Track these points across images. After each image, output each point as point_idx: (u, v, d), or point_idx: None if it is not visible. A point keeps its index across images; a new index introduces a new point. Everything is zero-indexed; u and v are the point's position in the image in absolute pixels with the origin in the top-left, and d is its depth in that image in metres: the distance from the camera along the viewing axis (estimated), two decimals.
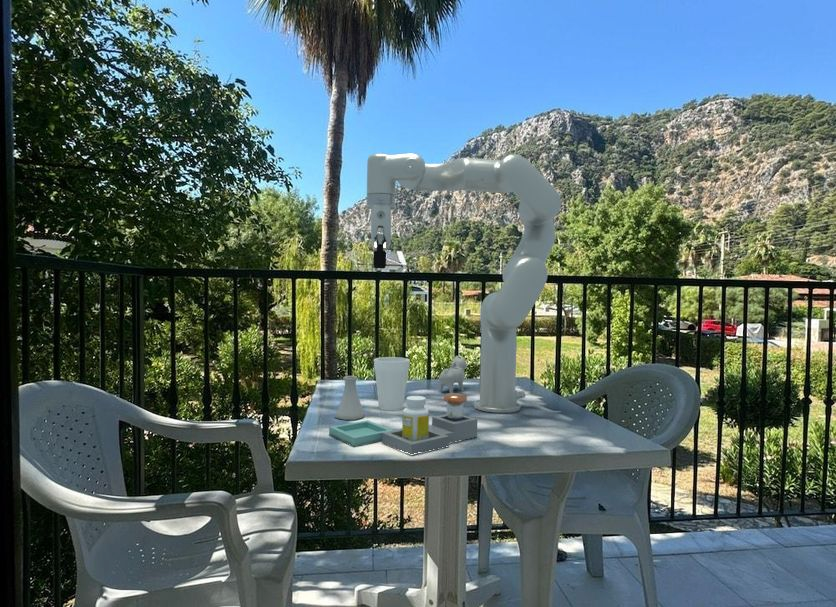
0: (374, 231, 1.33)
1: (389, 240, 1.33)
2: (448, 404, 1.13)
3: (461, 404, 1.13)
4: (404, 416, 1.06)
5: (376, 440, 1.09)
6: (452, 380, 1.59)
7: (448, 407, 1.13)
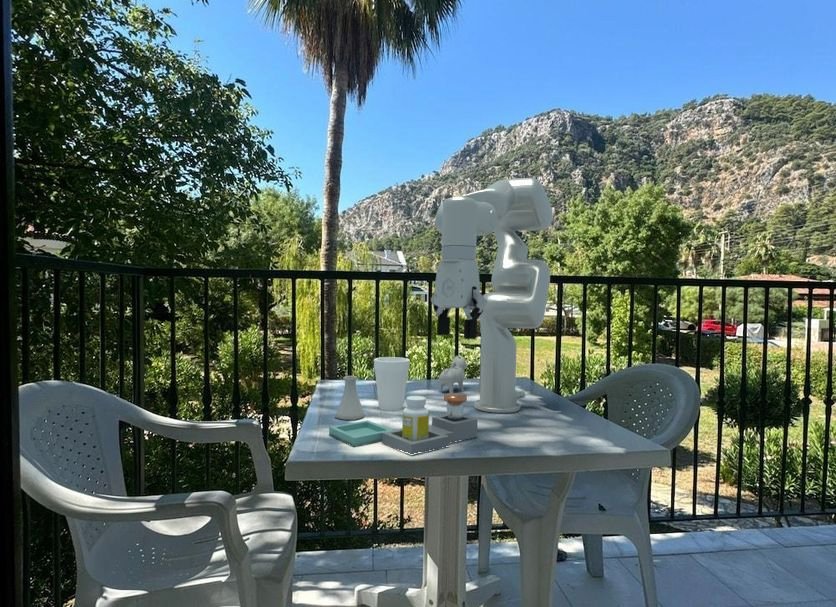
0: None
1: None
2: (448, 404, 1.13)
3: (461, 404, 1.13)
4: (404, 416, 1.06)
5: (376, 440, 1.09)
6: (452, 380, 1.59)
7: (448, 407, 1.13)
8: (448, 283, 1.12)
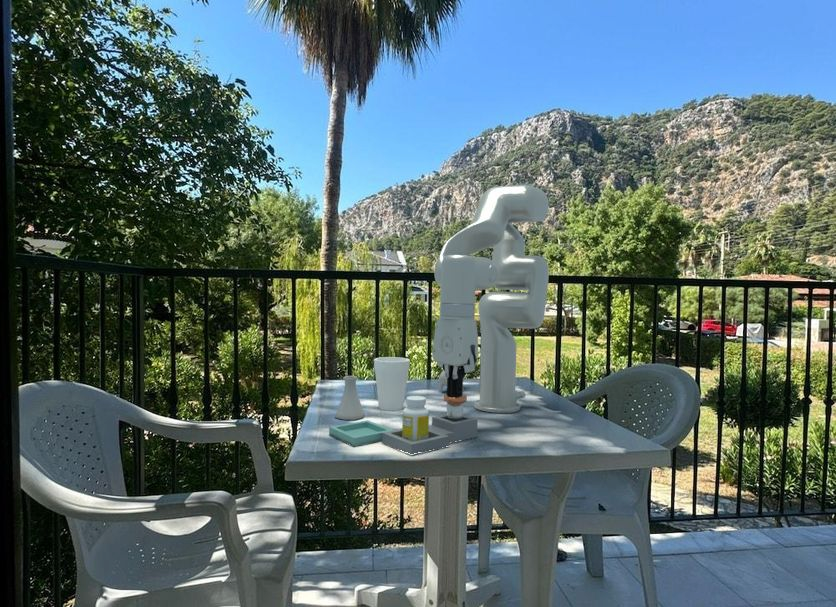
0: None
1: None
2: (448, 404, 1.13)
3: (461, 404, 1.13)
4: (404, 416, 1.06)
5: (376, 440, 1.09)
6: None
7: (448, 408, 1.13)
8: (446, 340, 1.12)
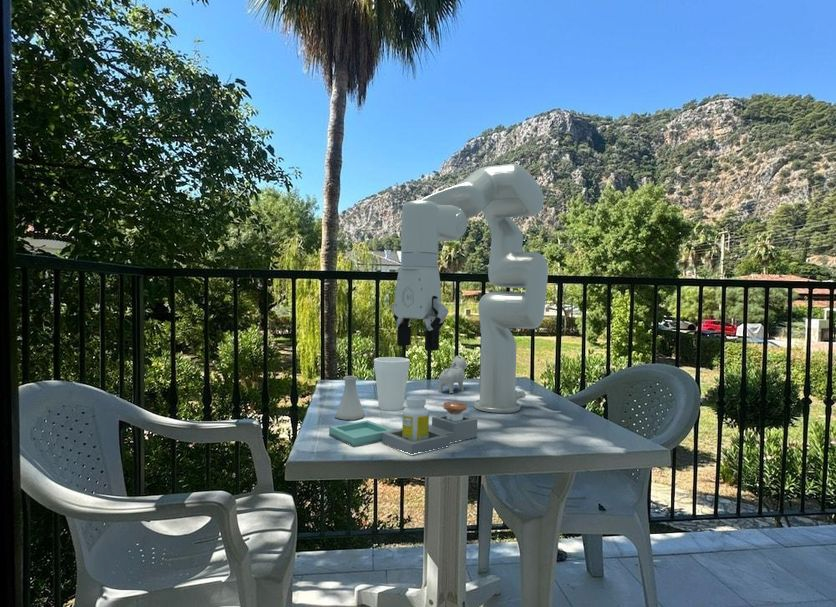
0: None
1: None
2: (448, 412, 1.13)
3: (461, 412, 1.13)
4: (404, 416, 1.06)
5: (376, 440, 1.09)
6: (452, 380, 1.59)
7: (448, 416, 1.13)
8: (407, 293, 1.05)
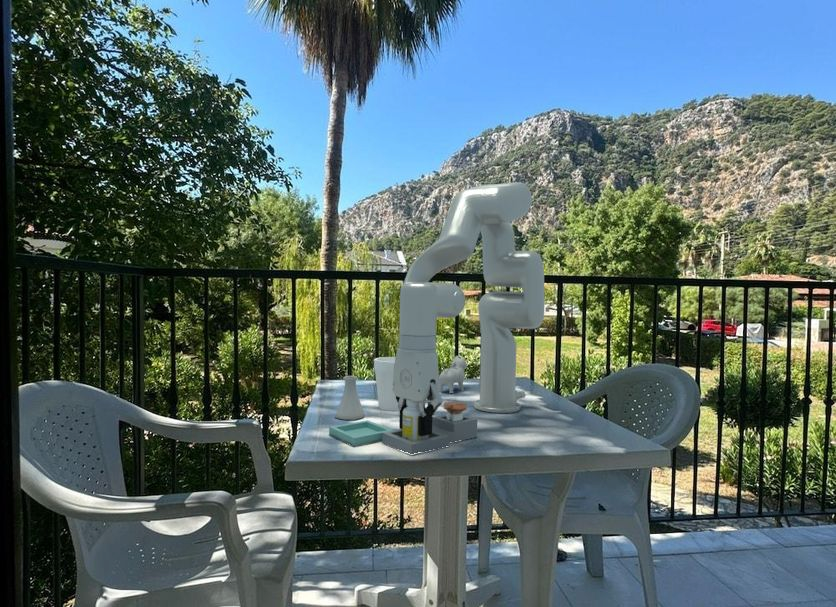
0: None
1: None
2: (448, 412, 1.13)
3: (461, 412, 1.13)
4: (404, 416, 1.06)
5: (376, 440, 1.09)
6: (452, 380, 1.59)
7: (448, 416, 1.13)
8: (405, 374, 1.05)
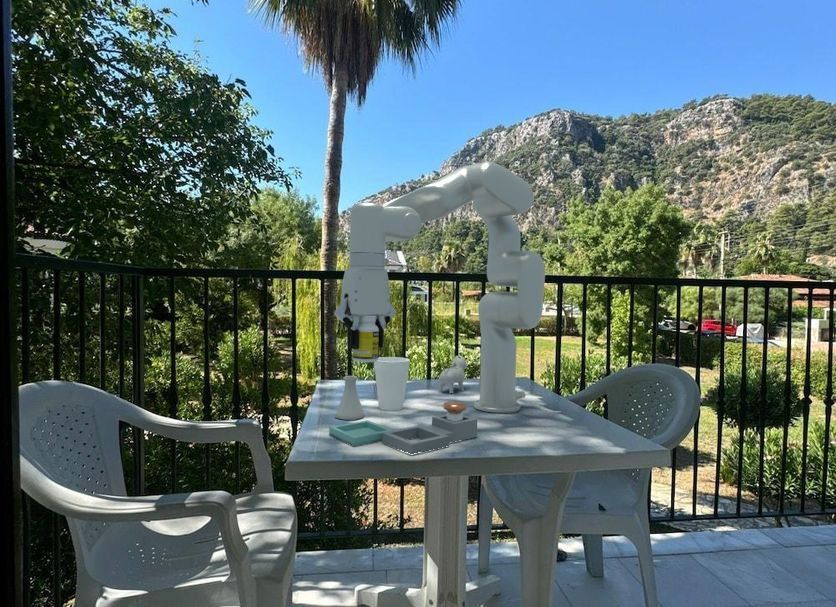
0: None
1: None
2: (448, 412, 1.13)
3: (461, 412, 1.13)
4: None
5: (376, 440, 1.09)
6: (452, 380, 1.59)
7: (448, 416, 1.13)
8: None
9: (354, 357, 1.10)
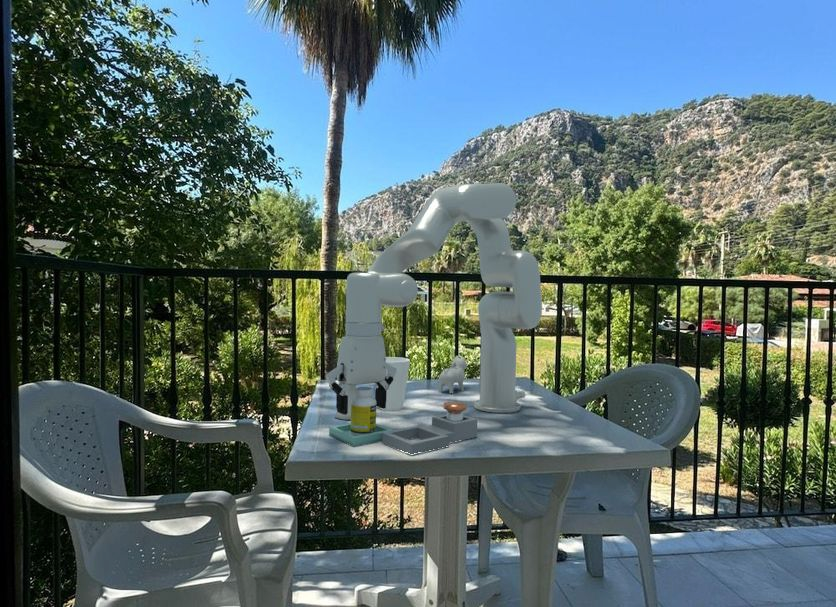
0: None
1: None
2: (448, 412, 1.13)
3: (461, 412, 1.13)
4: None
5: (376, 440, 1.09)
6: (452, 380, 1.59)
7: (448, 416, 1.13)
8: None
9: (352, 431, 1.11)
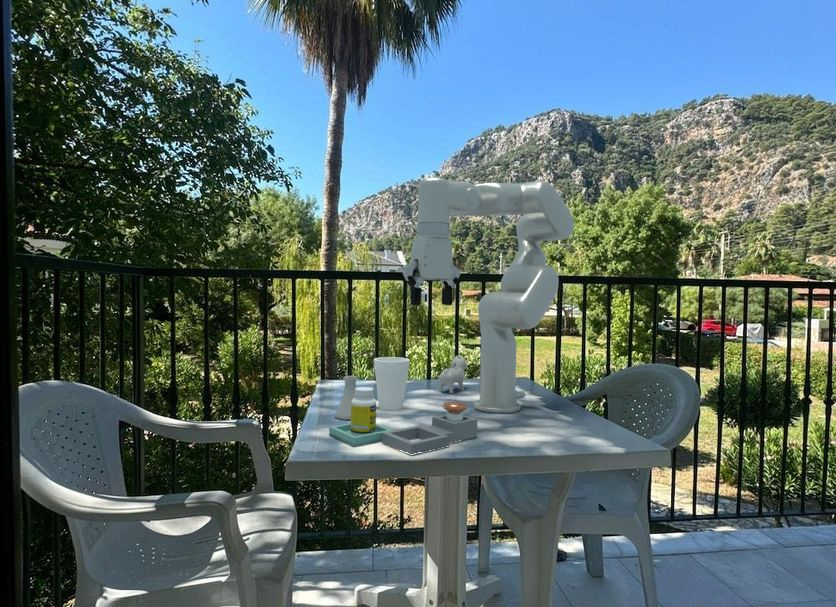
0: None
1: None
2: (448, 412, 1.13)
3: (461, 412, 1.13)
4: None
5: (376, 440, 1.09)
6: (452, 380, 1.59)
7: (448, 416, 1.13)
8: None
9: (352, 431, 1.11)
